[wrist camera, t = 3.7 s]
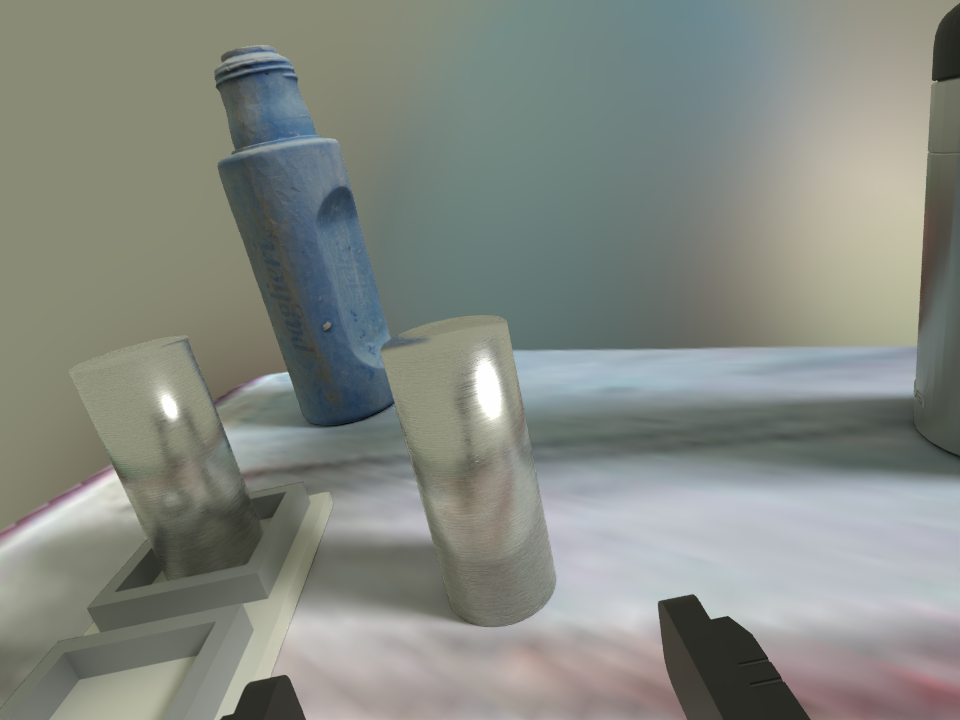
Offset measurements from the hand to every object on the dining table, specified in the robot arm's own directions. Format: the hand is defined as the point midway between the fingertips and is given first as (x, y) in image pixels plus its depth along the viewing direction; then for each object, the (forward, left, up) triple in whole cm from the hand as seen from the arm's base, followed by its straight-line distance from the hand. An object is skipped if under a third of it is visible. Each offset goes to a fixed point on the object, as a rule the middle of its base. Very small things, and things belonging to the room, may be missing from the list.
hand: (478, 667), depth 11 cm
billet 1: (+22, -1, -7) cm, 23 cm away
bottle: (+35, -19, -8) cm, 41 cm away
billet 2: (+8, -8, -8) cm, 14 cm away
